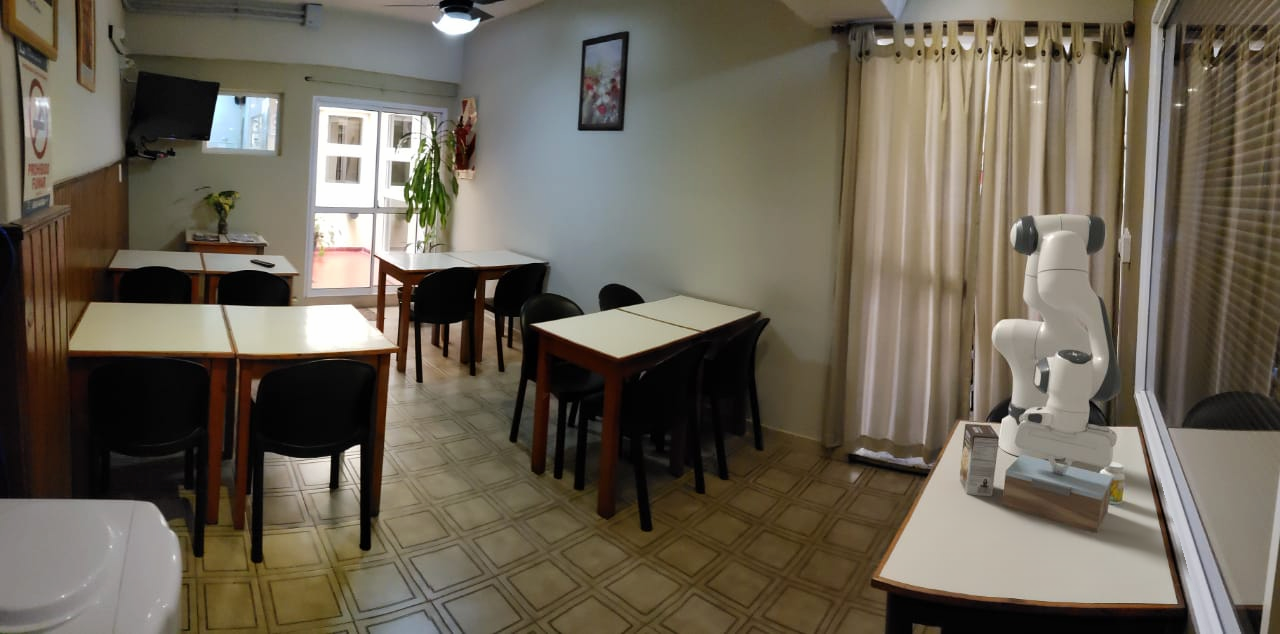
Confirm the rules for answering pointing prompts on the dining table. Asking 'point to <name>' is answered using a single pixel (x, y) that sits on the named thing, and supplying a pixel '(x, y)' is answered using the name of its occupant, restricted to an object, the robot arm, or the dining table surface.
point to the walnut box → (1056, 504)
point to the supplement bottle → (1115, 481)
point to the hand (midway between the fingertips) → (1058, 473)
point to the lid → (1060, 478)
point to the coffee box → (978, 459)
